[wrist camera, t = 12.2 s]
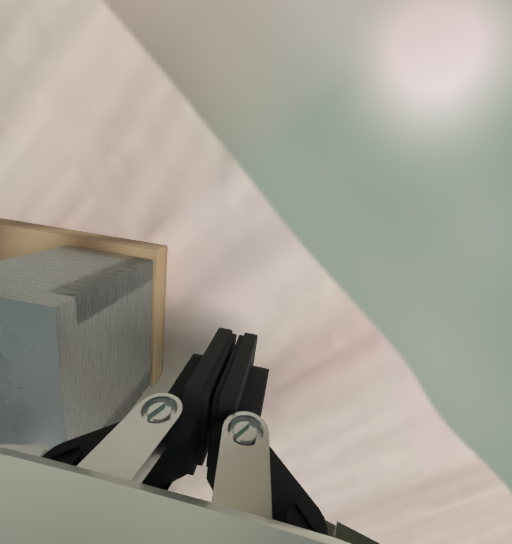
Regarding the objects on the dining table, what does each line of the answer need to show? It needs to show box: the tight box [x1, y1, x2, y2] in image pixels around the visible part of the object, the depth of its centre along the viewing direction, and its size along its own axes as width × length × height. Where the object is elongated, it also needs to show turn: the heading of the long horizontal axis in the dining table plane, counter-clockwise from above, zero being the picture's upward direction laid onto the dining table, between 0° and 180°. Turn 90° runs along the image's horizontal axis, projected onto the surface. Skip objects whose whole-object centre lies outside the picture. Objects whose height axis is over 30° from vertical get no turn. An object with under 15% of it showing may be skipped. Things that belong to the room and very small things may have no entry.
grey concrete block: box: [0, 245, 153, 449], centre depth 12 cm, size 4×7×6 cm, turn 172°
